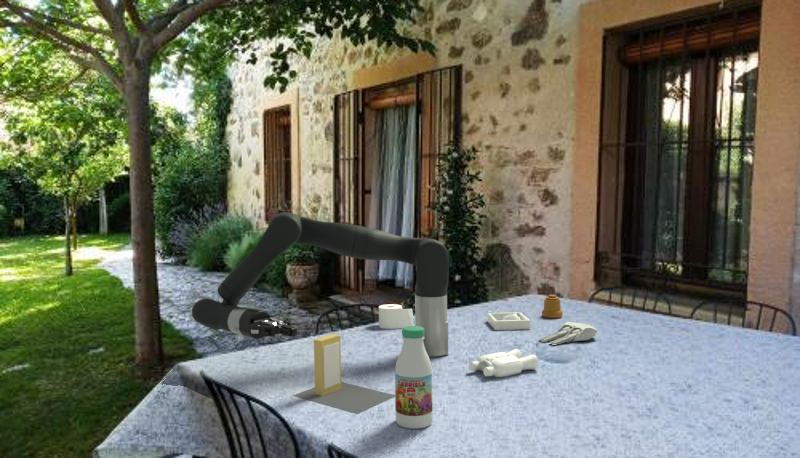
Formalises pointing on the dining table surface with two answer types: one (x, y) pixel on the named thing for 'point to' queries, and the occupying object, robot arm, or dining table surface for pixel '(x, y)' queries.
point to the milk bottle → (413, 381)
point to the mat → (348, 398)
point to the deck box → (327, 364)
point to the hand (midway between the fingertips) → (294, 332)
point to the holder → (508, 321)
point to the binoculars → (504, 363)
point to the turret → (571, 333)
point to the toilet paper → (394, 316)
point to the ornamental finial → (552, 307)
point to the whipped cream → (512, 317)
